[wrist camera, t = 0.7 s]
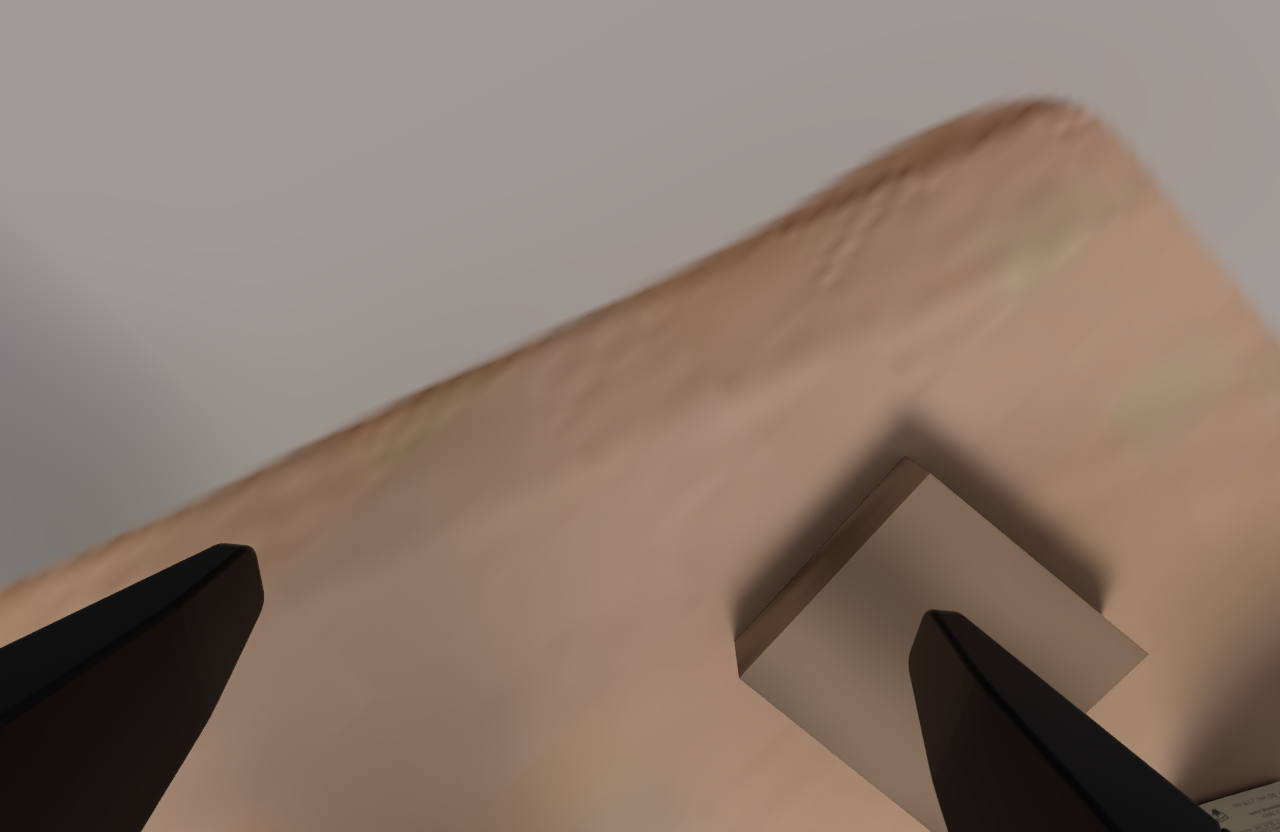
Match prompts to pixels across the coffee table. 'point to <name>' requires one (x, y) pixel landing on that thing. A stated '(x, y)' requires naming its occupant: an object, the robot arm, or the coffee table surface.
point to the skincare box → (1248, 810)
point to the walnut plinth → (914, 629)
